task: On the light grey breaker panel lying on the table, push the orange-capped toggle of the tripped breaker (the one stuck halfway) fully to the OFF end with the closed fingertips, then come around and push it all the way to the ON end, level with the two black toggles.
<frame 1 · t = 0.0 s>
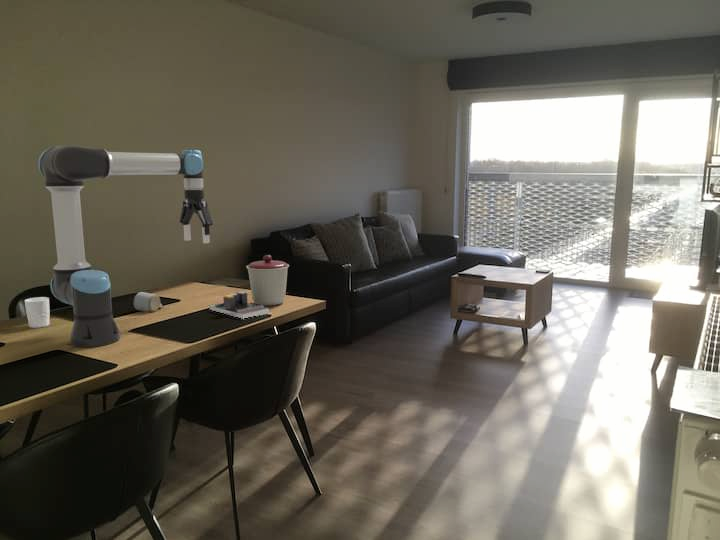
hand: (196, 241, 232), 28 cm above the table, tool pointing down, fingers open, 13 cm apart
tripped toggle: (229, 301, 226), point 5 cm above the table, slide at 0.0 cm
white cup: (39, 326, 211), on the table
canister: (269, 303, 245), on the table
breaker panel: (239, 312, 230), on the table
ceramic mug: (149, 310, 234), on the table
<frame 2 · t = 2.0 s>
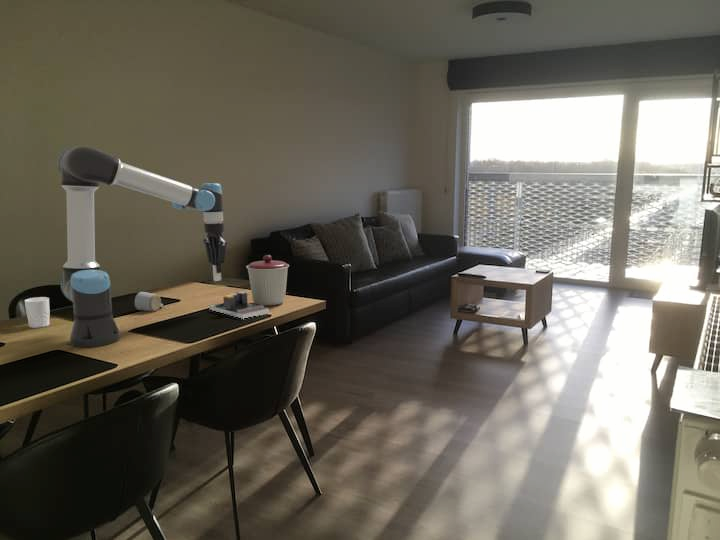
hand: (217, 280, 230), 13 cm above the table, tool pointing down, fingers closed
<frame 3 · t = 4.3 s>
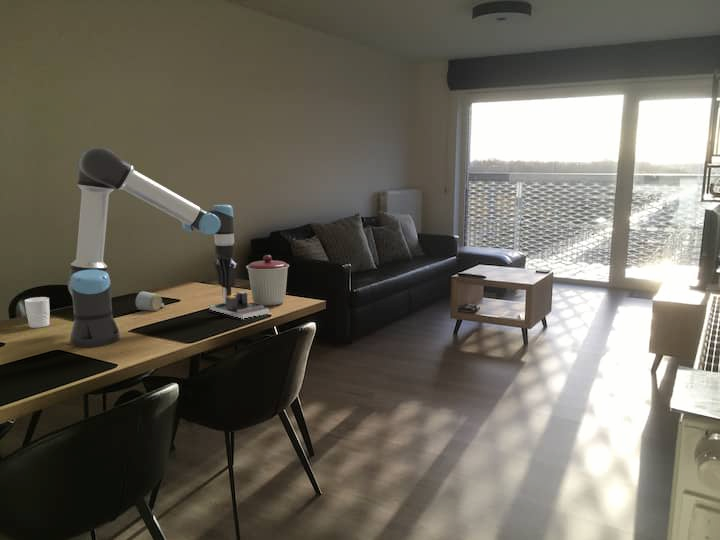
hand: (227, 302, 227), 4 cm above the table, tool pointing down, fingers closed
tripped toggle: (231, 302, 225), point 5 cm above the table, slide at -1.4 cm, touching gripper
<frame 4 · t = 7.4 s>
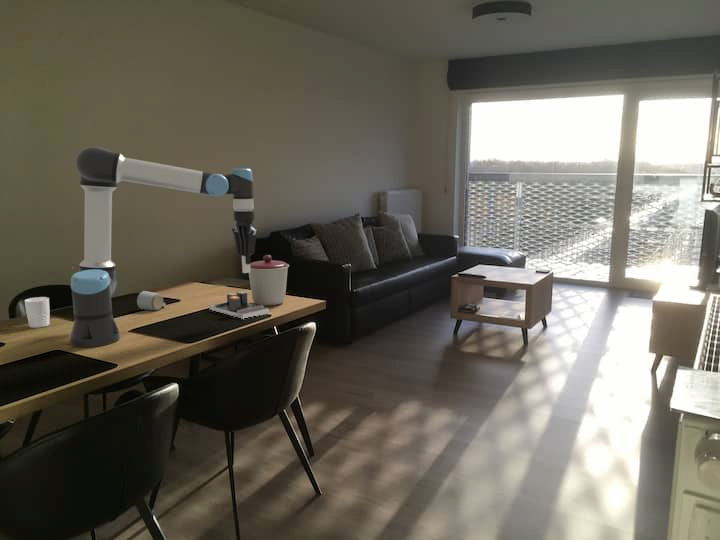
hand: (246, 272, 216), 18 cm above the table, tool pointing down, fingers closed
tripped toggle: (234, 303, 223), point 5 cm above the table, slide at -3.7 cm
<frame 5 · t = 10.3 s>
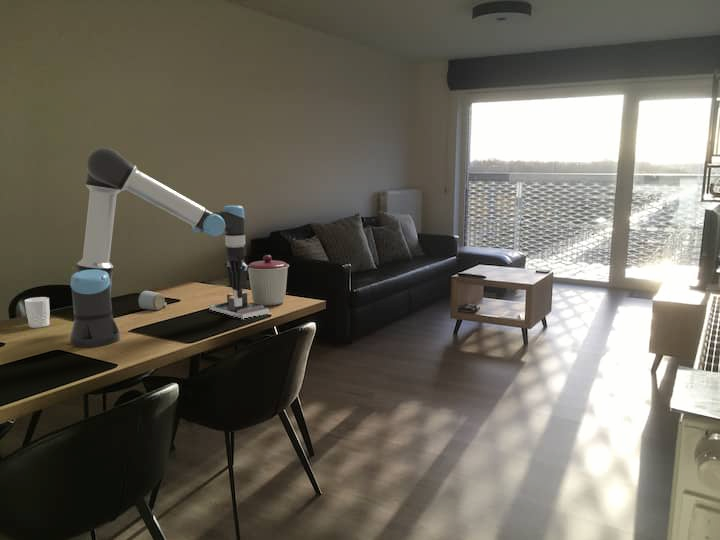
hand: (238, 305, 222), 4 cm above the table, tool pointing down, fingers closed
tripped toggle: (234, 303, 224), point 5 cm above the table, slide at -3.2 cm, touching gripper
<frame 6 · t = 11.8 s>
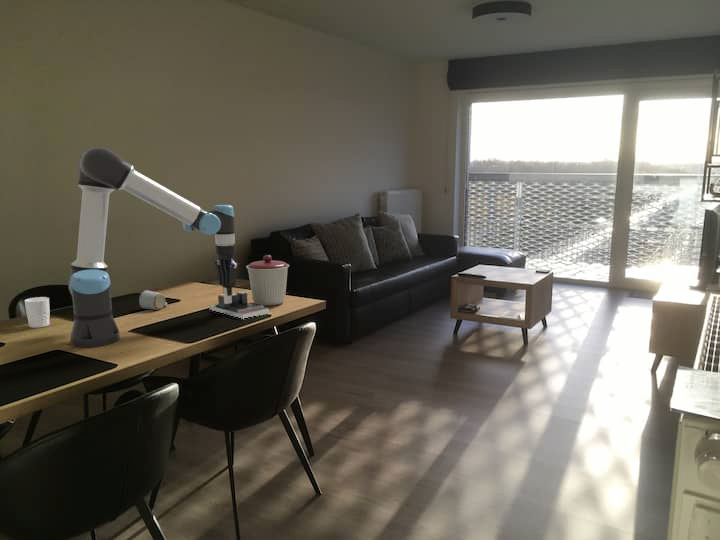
hand: (228, 303, 226), 4 cm above the table, tool pointing down, fingers closed
tripped toggle: (224, 300, 228), point 5 cm above the table, slide at 3.5 cm, touching gripper
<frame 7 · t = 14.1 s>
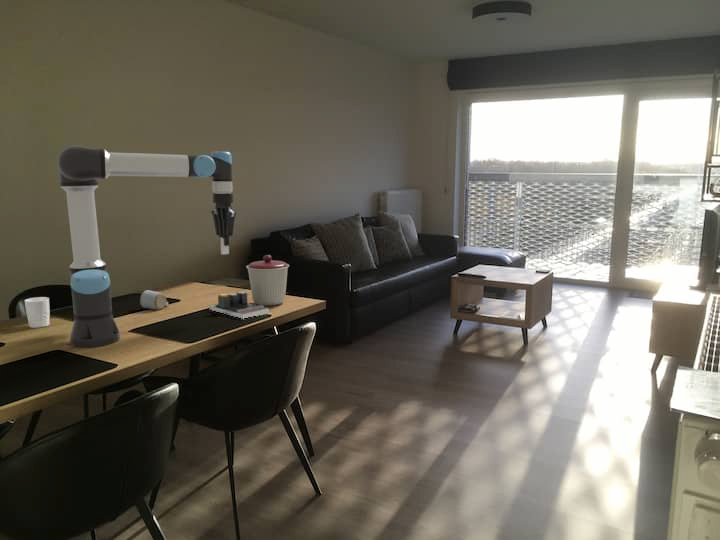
hand: (225, 253, 221), 25 cm above the table, tool pointing down, fingers closed
tripped toggle: (223, 300, 228), point 5 cm above the table, slide at 3.7 cm
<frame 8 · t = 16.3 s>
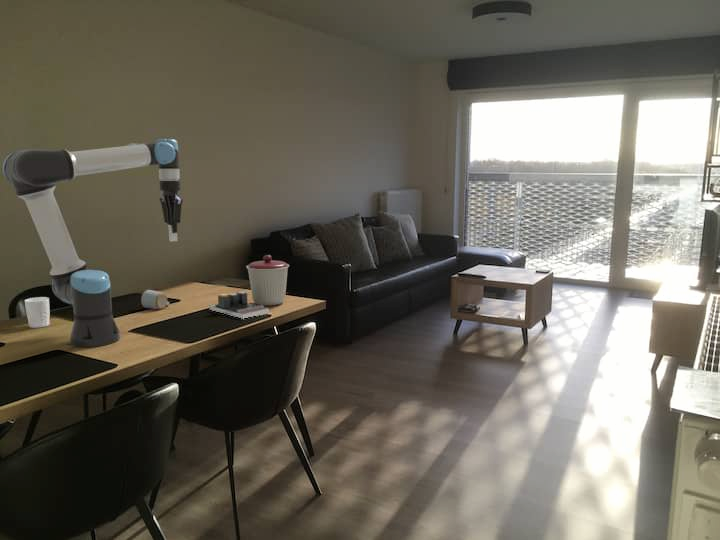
hand: (173, 241, 222), 29 cm above the table, tool pointing down, fingers closed
at the end: tripped toggle slide at 3.7 cm; the gripper is holding nothing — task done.
